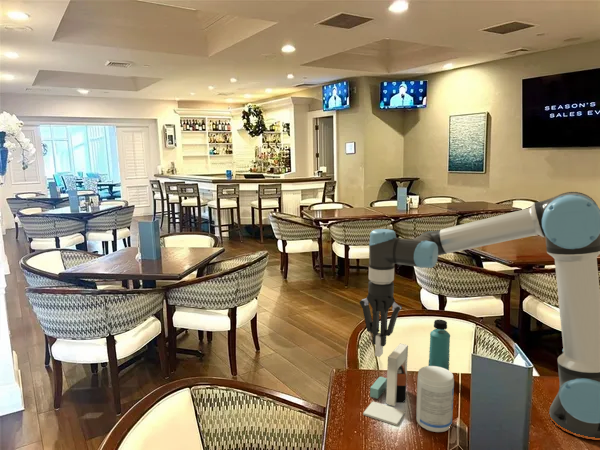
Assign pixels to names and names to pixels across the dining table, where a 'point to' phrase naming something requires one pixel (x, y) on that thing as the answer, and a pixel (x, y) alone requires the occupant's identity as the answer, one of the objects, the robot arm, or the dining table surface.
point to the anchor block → (378, 387)
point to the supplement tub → (435, 398)
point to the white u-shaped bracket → (395, 371)
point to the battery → (401, 385)
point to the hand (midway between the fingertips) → (379, 354)
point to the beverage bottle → (439, 345)
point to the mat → (384, 413)
